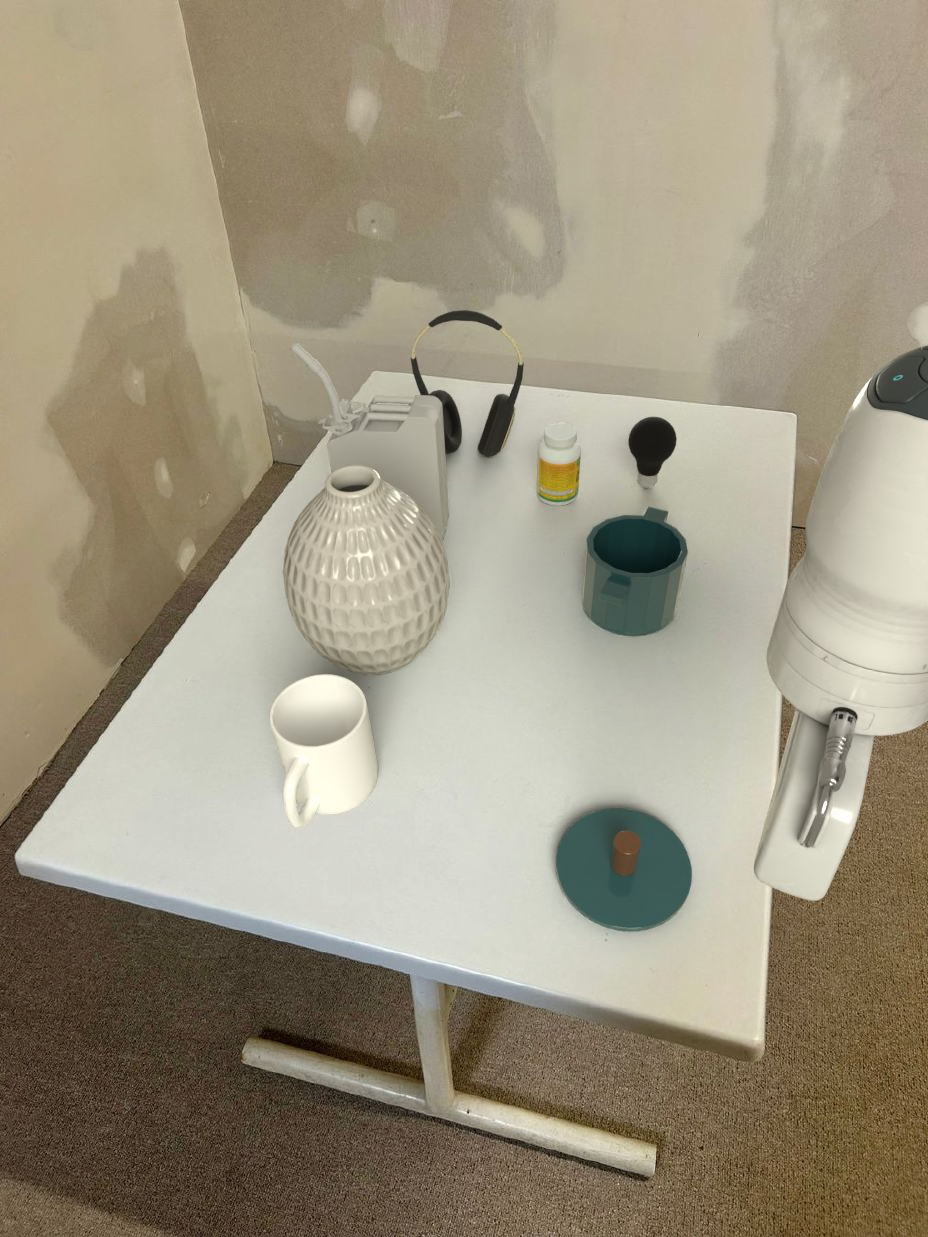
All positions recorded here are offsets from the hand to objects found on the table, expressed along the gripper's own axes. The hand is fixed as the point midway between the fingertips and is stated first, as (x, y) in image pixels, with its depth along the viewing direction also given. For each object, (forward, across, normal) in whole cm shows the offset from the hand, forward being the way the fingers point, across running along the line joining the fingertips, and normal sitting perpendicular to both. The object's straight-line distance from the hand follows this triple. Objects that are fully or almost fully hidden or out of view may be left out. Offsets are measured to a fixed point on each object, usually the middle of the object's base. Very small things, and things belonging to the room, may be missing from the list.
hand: (797, 802), depth 54 cm
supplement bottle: (+20, +50, +35) cm, 65 cm away
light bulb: (+20, +56, +25) cm, 65 cm away
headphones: (+20, +55, +50) cm, 77 cm away
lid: (+19, +2, +10) cm, 22 cm away
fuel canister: (+20, +35, +52) cm, 66 cm away
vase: (+20, +16, +42) cm, 49 cm away
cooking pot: (+20, +34, +20) cm, 44 cm away
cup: (+20, -2, +37) cm, 42 cm away
